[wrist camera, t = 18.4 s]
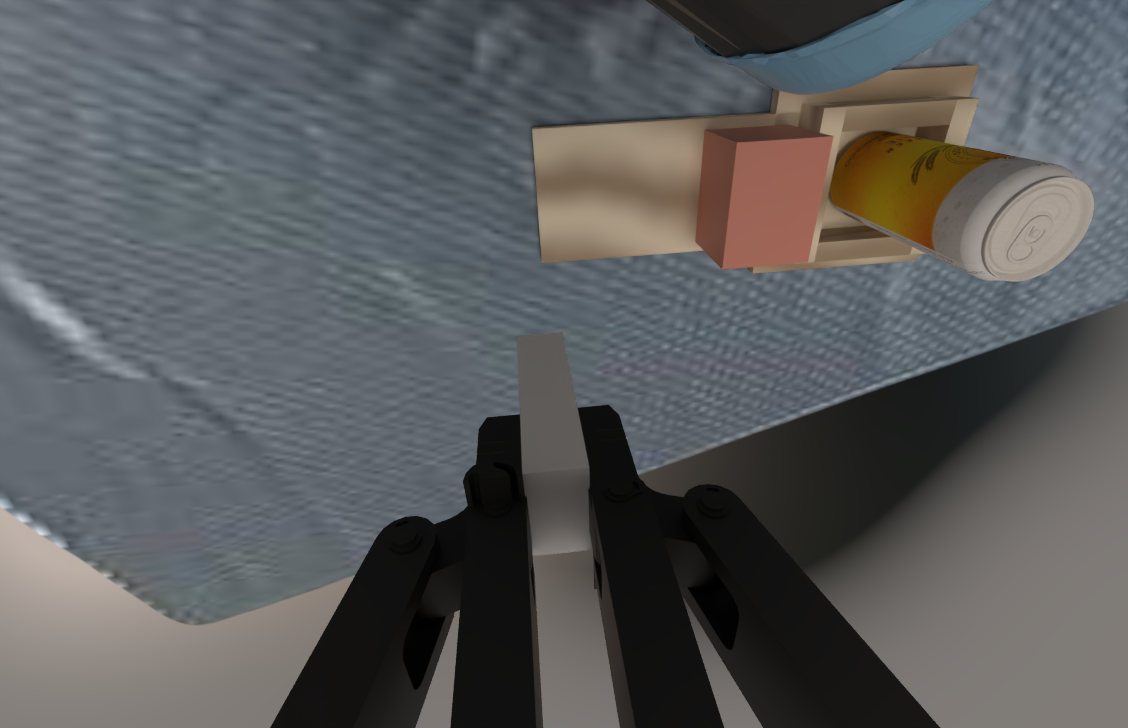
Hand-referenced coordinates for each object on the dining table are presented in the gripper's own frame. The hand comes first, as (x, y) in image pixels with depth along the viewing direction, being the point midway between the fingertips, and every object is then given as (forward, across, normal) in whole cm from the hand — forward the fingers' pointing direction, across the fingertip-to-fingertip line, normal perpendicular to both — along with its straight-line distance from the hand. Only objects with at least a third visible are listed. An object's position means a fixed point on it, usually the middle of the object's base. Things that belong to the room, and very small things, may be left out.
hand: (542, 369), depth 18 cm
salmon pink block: (+23, +16, 0) cm, 28 cm away
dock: (+24, +17, 0) cm, 29 cm away
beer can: (+24, +26, 0) cm, 35 cm away
